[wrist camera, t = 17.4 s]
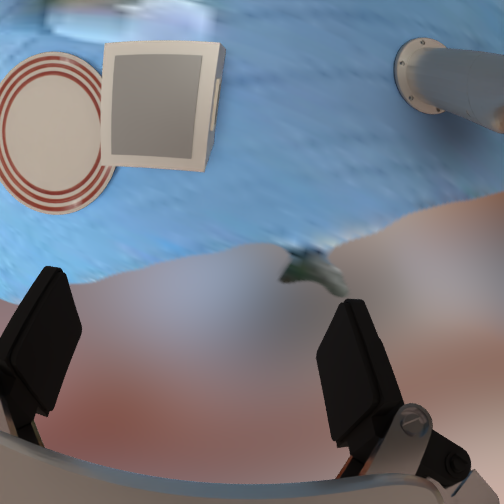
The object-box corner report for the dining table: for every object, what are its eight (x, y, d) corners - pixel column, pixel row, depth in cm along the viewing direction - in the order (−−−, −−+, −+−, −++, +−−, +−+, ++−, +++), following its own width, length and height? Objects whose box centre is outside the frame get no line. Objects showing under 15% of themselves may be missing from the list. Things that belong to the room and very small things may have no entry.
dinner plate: (162, 117, 39) (156, 121, 37) (75, 234, 50) (67, 244, 47) (44, 22, 27) (33, 22, 25) (-19, 151, 38) (-29, 158, 35)
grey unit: (228, 49, 34) (223, 42, 24) (216, 144, 42) (207, 173, 32) (137, 46, 33) (99, 43, 22) (131, 138, 40) (96, 166, 30)
